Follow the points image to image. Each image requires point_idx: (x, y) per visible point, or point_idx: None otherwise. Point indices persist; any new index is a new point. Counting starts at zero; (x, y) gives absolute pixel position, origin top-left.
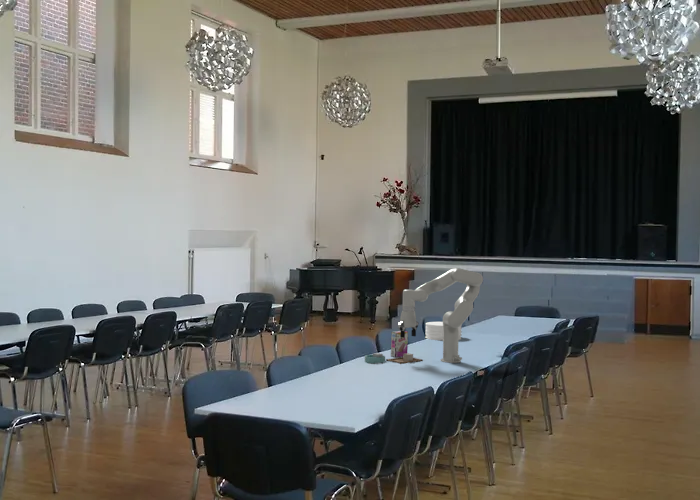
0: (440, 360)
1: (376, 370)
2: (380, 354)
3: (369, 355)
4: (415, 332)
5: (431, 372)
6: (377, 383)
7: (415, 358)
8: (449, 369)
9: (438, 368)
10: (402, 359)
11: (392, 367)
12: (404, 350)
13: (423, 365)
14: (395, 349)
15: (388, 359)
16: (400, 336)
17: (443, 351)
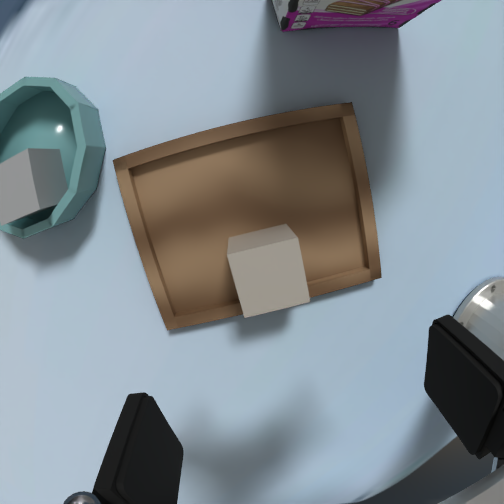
0: (460, 308)
1: (9, 394)
2: (23, 215)
3: (16, 93)
4: (462, 427)
5: (213, 499)
6: (22, 490)
7: (366, 213)
8: (323, 479)
9: (297, 463)
10: (272, 156)
11: (80, 380)
12: (392, 11)
13: (283, 397)
14: (292, 1)
15: (123, 174)
16: (128, 396)
17: (493, 351)
